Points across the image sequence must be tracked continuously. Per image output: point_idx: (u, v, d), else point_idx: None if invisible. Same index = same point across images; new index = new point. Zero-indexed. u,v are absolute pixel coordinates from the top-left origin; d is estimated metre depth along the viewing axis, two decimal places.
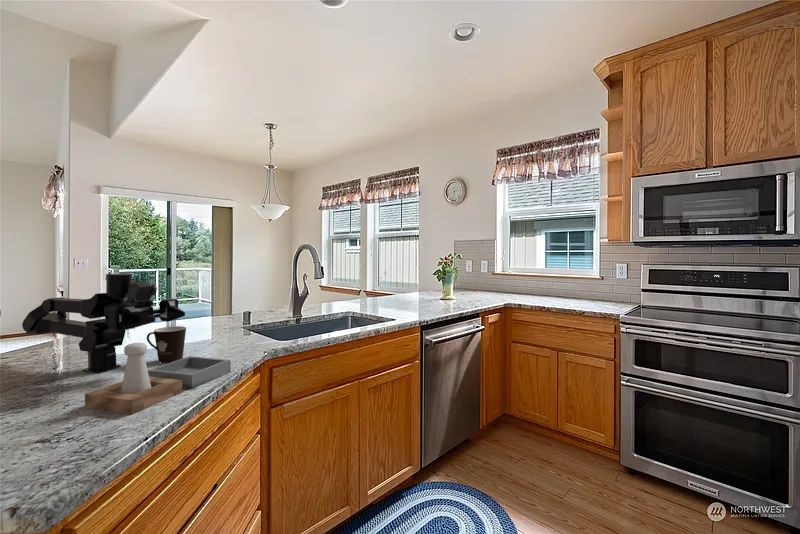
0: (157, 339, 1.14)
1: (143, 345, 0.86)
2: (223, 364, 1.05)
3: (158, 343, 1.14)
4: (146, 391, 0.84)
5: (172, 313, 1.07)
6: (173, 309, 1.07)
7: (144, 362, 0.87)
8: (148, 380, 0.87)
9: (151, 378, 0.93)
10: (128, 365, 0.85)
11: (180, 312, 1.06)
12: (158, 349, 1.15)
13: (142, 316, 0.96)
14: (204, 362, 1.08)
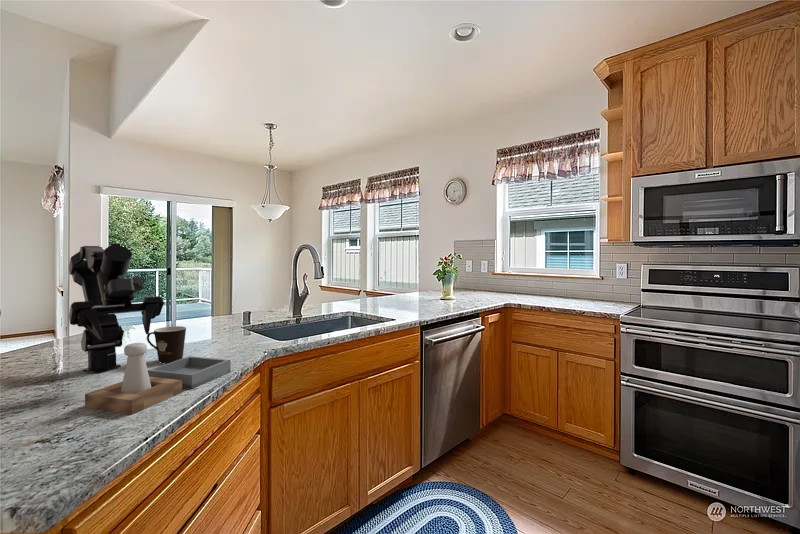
0: (157, 339, 1.14)
1: (143, 345, 0.86)
2: (223, 364, 1.05)
3: (158, 343, 1.14)
4: (146, 391, 0.84)
5: (144, 319, 0.97)
6: (145, 318, 0.97)
7: (144, 362, 0.87)
8: (148, 380, 0.87)
9: (151, 378, 0.93)
10: (128, 365, 0.85)
11: (146, 328, 0.95)
12: (158, 349, 1.15)
13: (94, 328, 0.88)
14: (204, 362, 1.08)
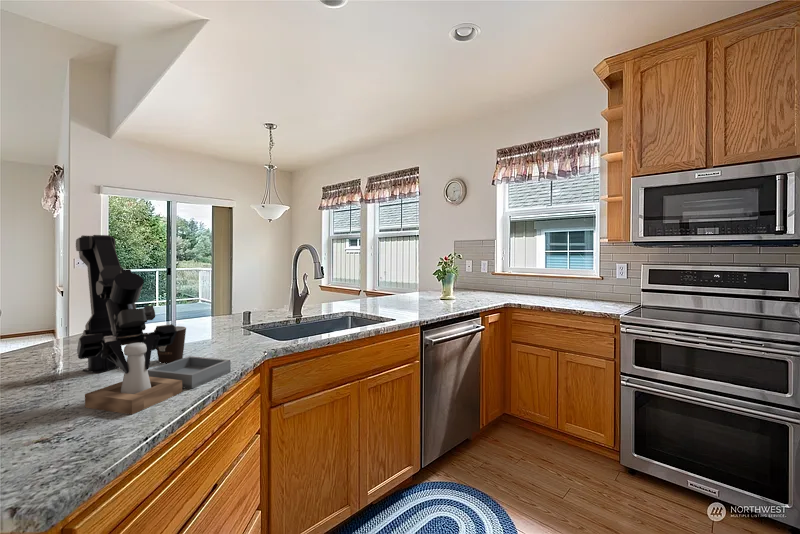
0: None
1: (143, 345, 0.86)
2: (223, 364, 1.05)
3: None
4: (146, 391, 0.84)
5: None
6: None
7: (144, 362, 0.87)
8: (148, 380, 0.87)
9: (151, 378, 0.93)
10: None
11: None
12: (158, 349, 1.15)
13: (119, 361, 0.84)
14: (204, 362, 1.08)
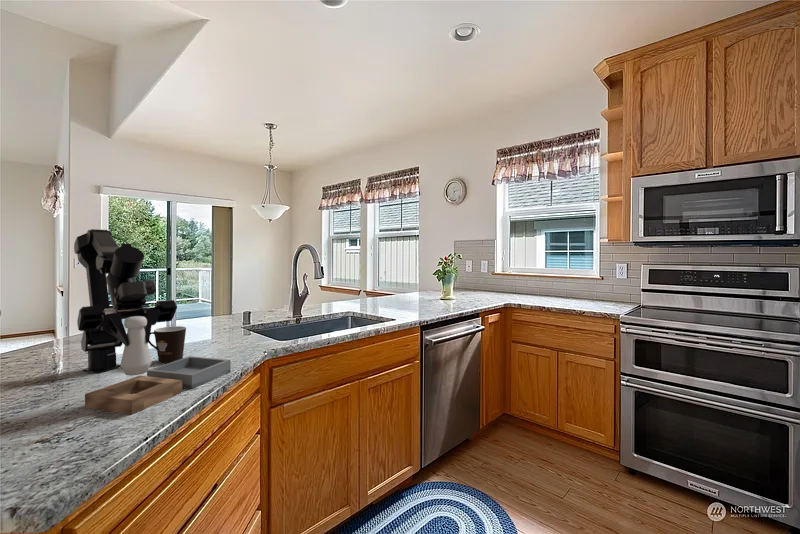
0: (157, 339, 1.14)
1: (143, 318, 0.86)
2: (223, 364, 1.05)
3: (158, 343, 1.14)
4: (146, 391, 0.84)
5: None
6: None
7: (144, 335, 0.87)
8: (148, 353, 0.87)
9: (151, 378, 0.93)
10: (128, 338, 0.85)
11: (146, 336, 0.87)
12: (158, 349, 1.15)
13: (119, 333, 0.84)
14: (204, 362, 1.08)
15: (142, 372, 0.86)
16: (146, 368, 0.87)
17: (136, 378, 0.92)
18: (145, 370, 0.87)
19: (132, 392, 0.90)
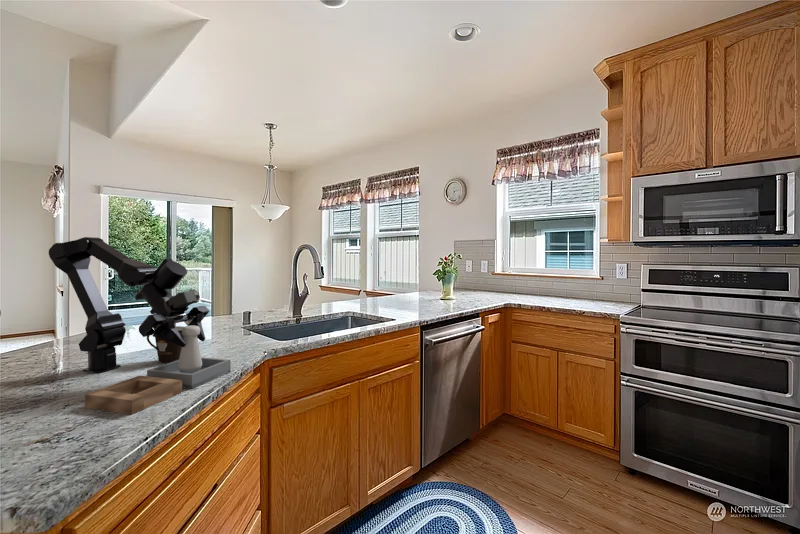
0: (157, 339, 1.14)
1: (198, 327, 1.03)
2: (223, 364, 1.05)
3: (158, 343, 1.14)
4: (146, 391, 0.84)
5: None
6: None
7: None
8: None
9: (151, 378, 0.93)
10: (188, 344, 1.00)
11: (201, 336, 1.05)
12: (158, 349, 1.15)
13: (176, 336, 0.98)
14: (204, 362, 1.08)
15: None
16: None
17: (136, 378, 0.92)
18: (198, 370, 1.03)
19: (132, 392, 0.90)
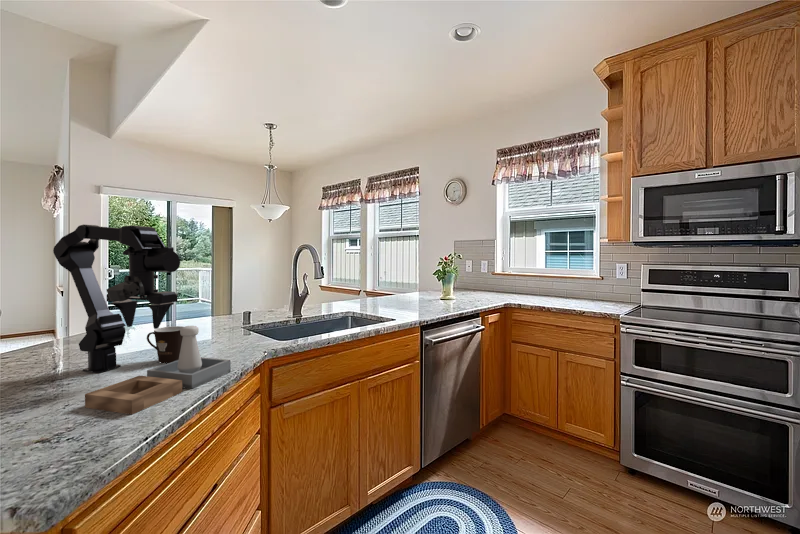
0: (157, 339, 1.14)
1: (197, 327, 1.03)
2: (223, 364, 1.05)
3: (158, 343, 1.14)
4: (146, 391, 0.84)
5: None
6: None
7: None
8: None
9: (151, 378, 0.93)
10: (187, 344, 1.00)
11: None
12: (158, 349, 1.15)
13: None
14: (204, 362, 1.08)
15: None
16: (199, 368, 1.03)
17: (136, 378, 0.92)
18: (198, 370, 1.03)
19: (132, 392, 0.90)
